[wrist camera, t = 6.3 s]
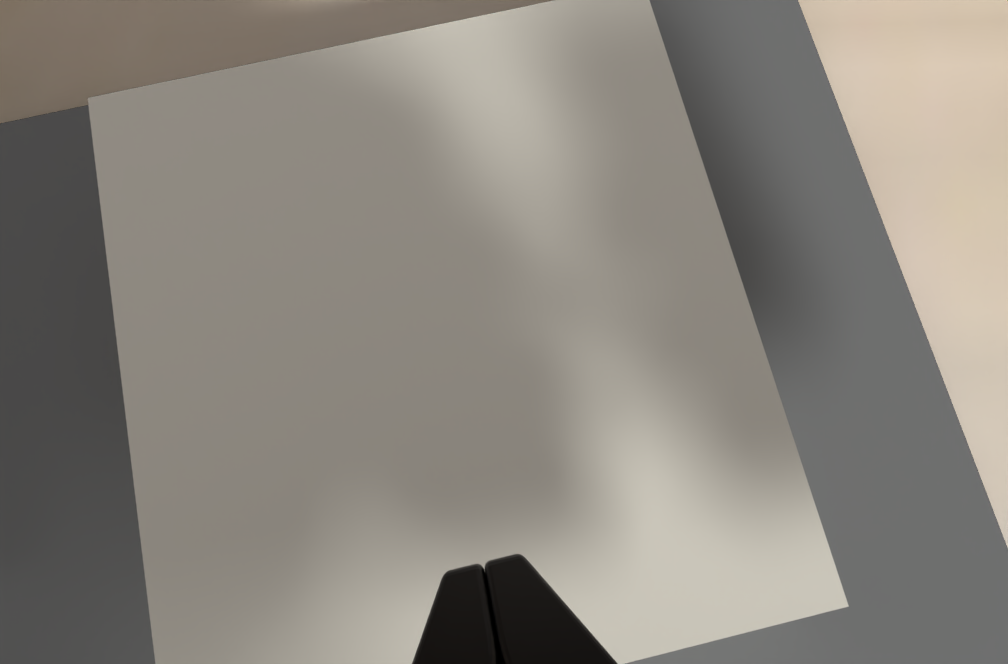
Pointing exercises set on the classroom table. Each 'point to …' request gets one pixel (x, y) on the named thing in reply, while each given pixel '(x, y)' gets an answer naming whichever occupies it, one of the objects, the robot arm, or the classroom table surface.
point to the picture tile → (443, 346)
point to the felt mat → (774, 304)
